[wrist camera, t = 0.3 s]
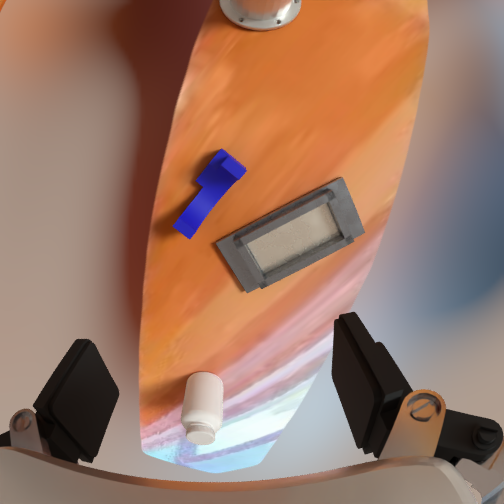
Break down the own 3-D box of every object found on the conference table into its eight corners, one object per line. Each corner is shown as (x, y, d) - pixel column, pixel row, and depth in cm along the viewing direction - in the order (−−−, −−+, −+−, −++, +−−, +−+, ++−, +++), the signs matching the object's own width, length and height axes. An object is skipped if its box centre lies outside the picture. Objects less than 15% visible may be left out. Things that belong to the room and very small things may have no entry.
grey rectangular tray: (216, 241, 44) (214, 247, 42) (340, 176, 41) (347, 179, 39) (246, 290, 48) (247, 299, 45) (362, 230, 45) (369, 236, 42)
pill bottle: (231, 384, 56) (230, 440, 42) (206, 398, 58) (201, 452, 44) (204, 364, 54) (197, 423, 40) (179, 380, 55) (169, 435, 41)
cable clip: (222, 148, 40) (219, 148, 34) (245, 167, 41) (246, 170, 35) (173, 209, 43) (163, 219, 37) (196, 227, 44) (189, 239, 38)
